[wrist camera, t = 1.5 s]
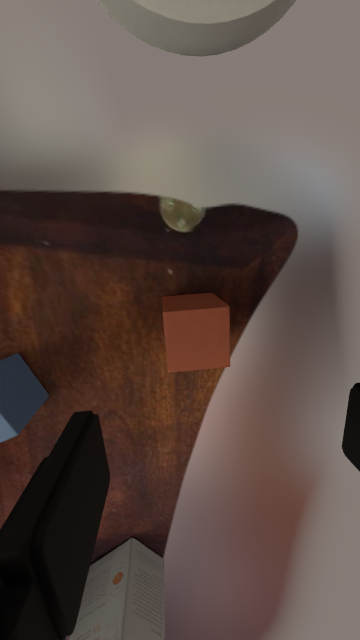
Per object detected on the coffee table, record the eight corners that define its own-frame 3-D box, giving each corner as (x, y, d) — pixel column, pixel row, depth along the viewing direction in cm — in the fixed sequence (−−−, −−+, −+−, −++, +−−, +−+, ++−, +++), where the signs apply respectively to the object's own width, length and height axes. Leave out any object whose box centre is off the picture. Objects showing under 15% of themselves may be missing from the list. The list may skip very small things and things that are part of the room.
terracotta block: (162, 296, 20) (162, 312, 15) (212, 292, 20) (229, 306, 15) (166, 343, 21) (168, 373, 16) (213, 338, 21) (230, 367, 16)
